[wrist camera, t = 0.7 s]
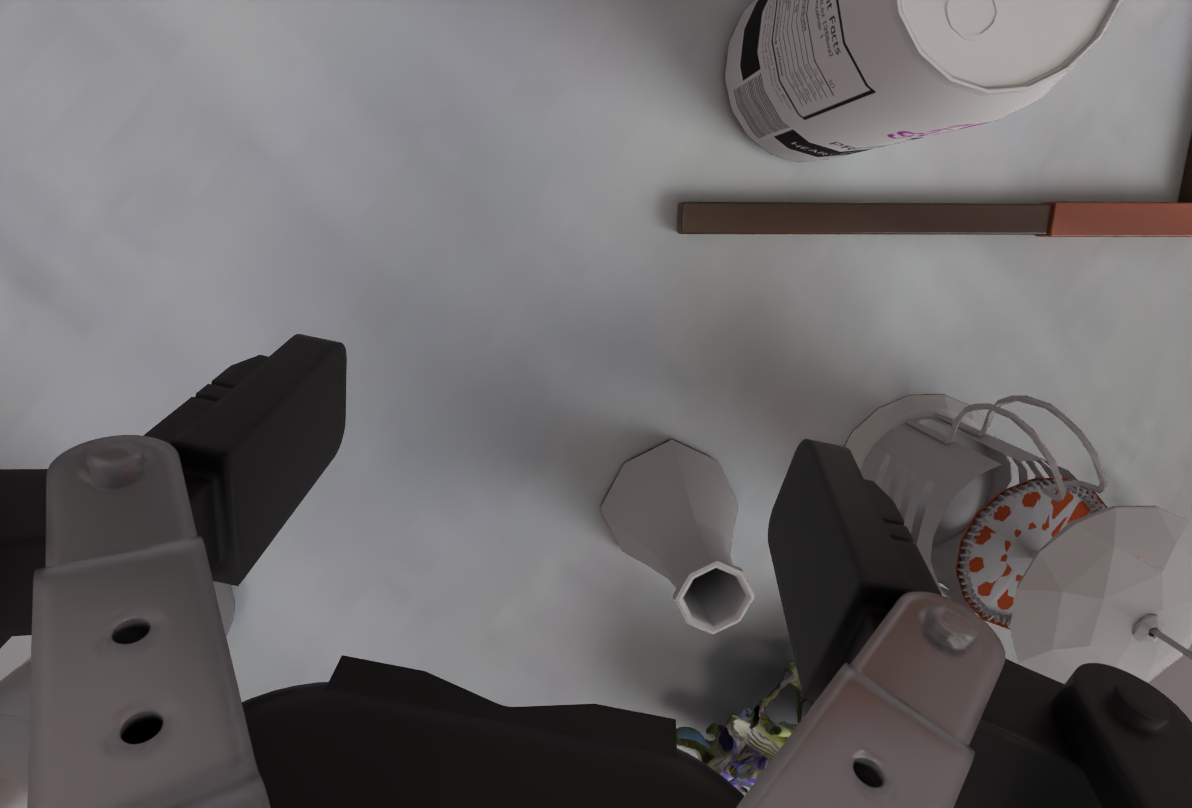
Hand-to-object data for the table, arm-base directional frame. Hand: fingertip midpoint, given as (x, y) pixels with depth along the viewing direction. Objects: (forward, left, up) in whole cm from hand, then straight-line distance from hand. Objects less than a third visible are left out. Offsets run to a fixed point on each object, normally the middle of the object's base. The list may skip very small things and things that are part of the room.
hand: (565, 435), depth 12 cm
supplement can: (-11, +13, -24) cm, 29 cm away
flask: (+11, +7, -24) cm, 27 cm away
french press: (+9, +21, -24) cm, 33 cm away
